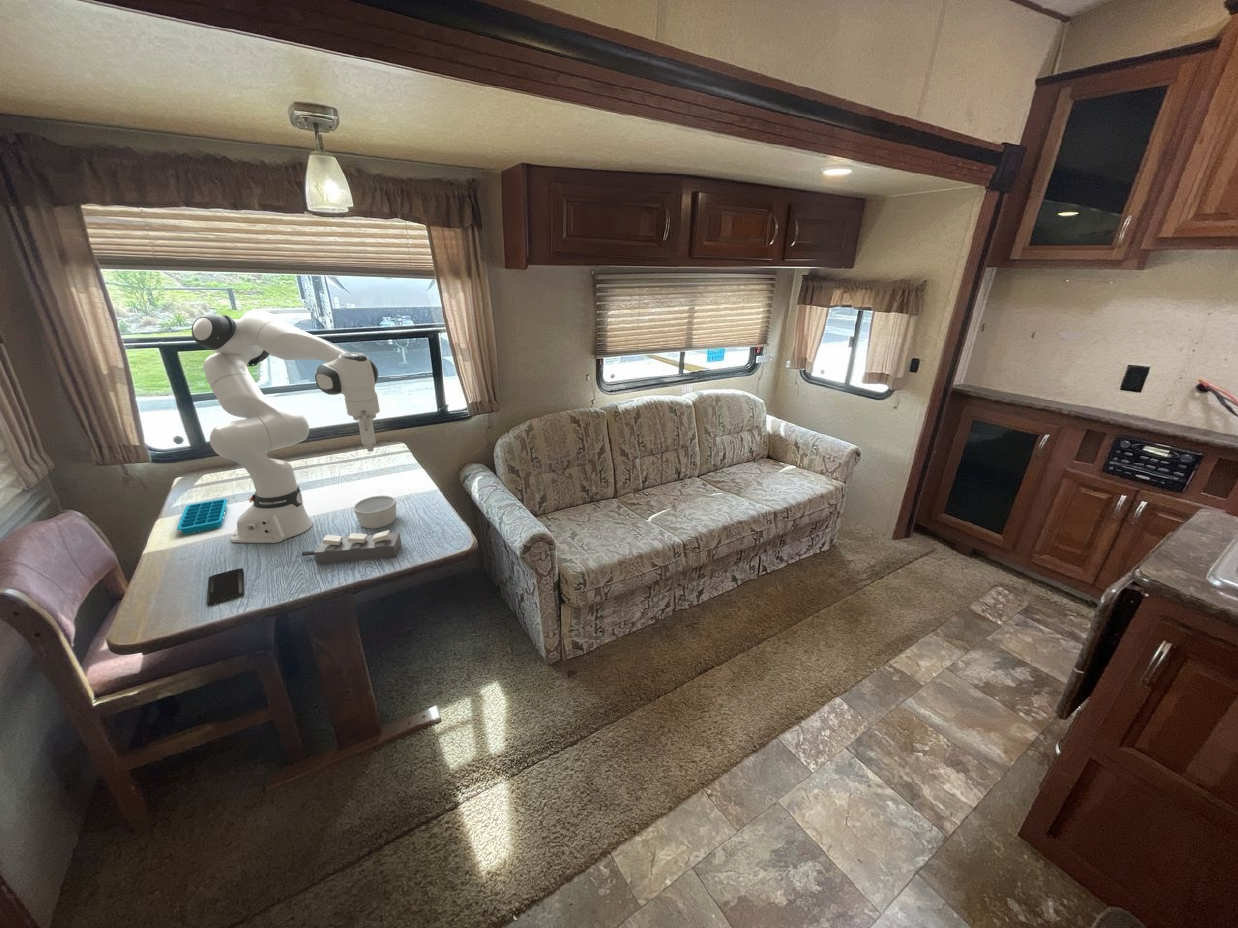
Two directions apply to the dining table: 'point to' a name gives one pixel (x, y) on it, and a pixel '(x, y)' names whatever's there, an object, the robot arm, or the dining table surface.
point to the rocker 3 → (381, 536)
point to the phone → (225, 586)
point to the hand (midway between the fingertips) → (370, 449)
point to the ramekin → (375, 511)
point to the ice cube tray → (202, 516)
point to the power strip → (356, 550)
